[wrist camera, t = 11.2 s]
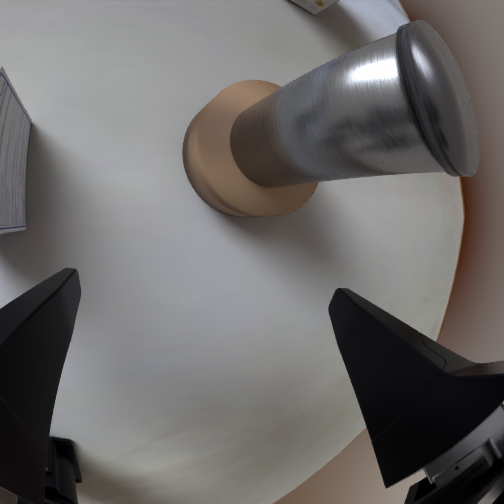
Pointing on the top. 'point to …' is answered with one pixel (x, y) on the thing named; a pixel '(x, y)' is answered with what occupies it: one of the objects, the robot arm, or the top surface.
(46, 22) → the top surface
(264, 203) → the stand
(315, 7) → the coffee box
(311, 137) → the silver metal cylinder
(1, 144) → the medicine box
